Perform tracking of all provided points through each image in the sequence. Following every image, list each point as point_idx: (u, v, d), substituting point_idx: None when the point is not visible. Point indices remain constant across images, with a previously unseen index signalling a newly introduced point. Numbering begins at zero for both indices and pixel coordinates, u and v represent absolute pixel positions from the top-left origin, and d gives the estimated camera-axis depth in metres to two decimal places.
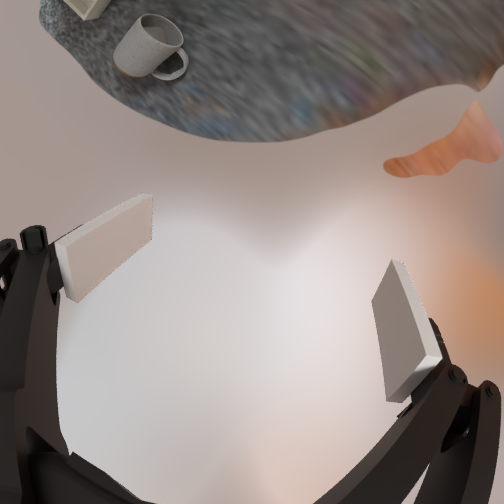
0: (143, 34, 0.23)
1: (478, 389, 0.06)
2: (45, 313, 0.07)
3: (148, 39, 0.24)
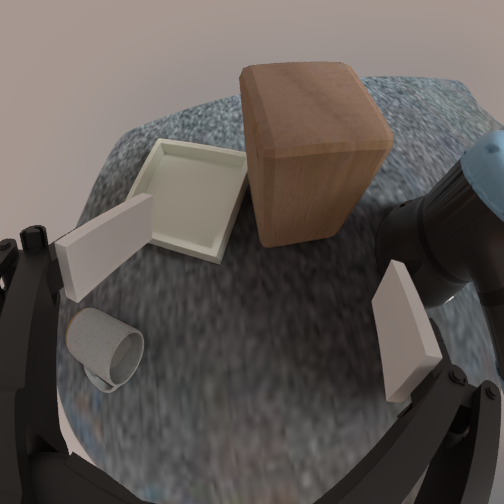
0: (106, 359, 0.24)
1: (478, 389, 0.06)
2: (45, 313, 0.07)
3: (104, 367, 0.24)
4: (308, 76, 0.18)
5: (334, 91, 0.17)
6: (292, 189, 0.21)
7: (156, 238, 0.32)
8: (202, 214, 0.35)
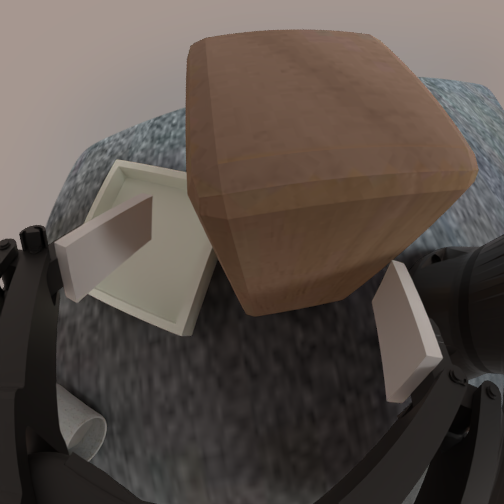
0: None
1: (478, 389, 0.06)
2: (45, 313, 0.07)
3: None
4: (308, 44, 0.09)
5: (361, 69, 0.08)
6: (279, 265, 0.11)
7: (108, 302, 0.23)
8: (168, 267, 0.26)
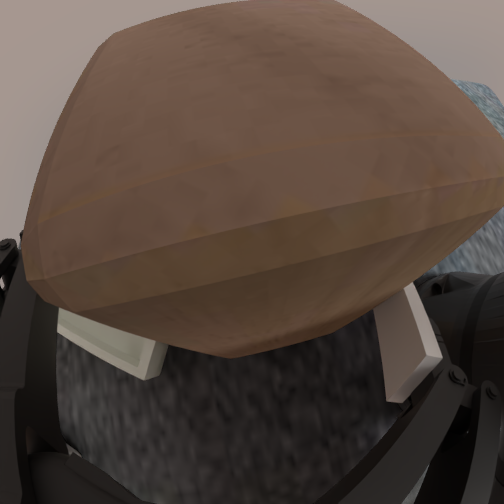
0: None
1: (478, 389, 0.06)
2: (45, 313, 0.07)
3: None
4: (240, 13, 0.05)
5: (317, 30, 0.05)
6: (218, 334, 0.07)
7: (71, 339, 0.19)
8: None
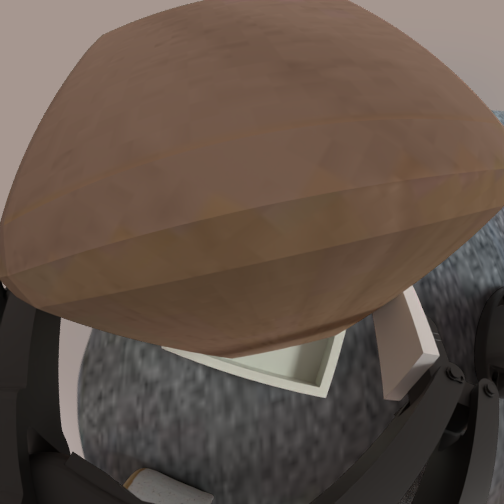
0: None
1: (476, 387, 0.06)
2: (48, 313, 0.07)
3: None
4: (221, 7, 0.05)
5: (293, 18, 0.04)
6: (197, 336, 0.07)
7: (236, 373, 0.21)
8: None
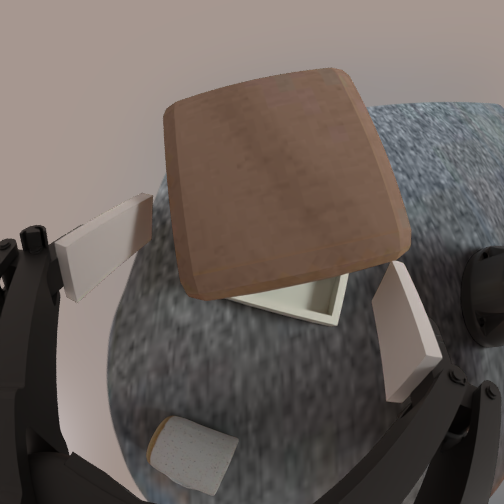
0: (215, 483, 0.18)
1: (478, 389, 0.06)
2: (45, 313, 0.07)
3: (212, 489, 0.18)
4: (266, 114, 0.11)
5: (311, 147, 0.10)
6: (255, 292, 0.15)
7: (262, 305, 0.27)
8: None
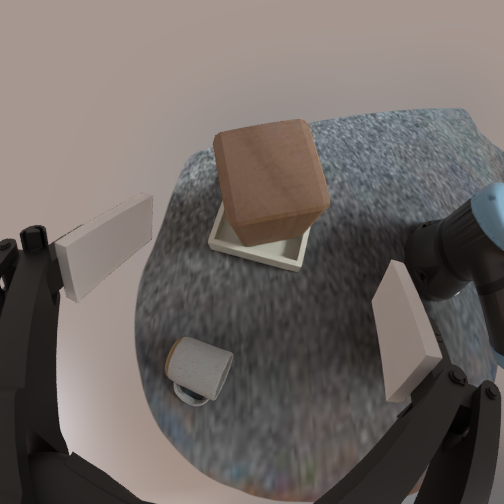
0: (216, 380, 0.32)
1: (478, 389, 0.06)
2: (45, 313, 0.07)
3: (213, 386, 0.32)
4: (266, 144, 0.25)
5: (286, 161, 0.25)
6: (255, 231, 0.30)
7: (250, 253, 0.41)
8: None
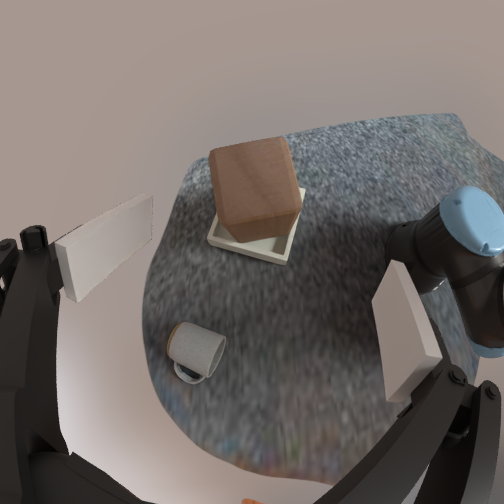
0: (209, 358, 0.39)
1: (478, 389, 0.06)
2: (45, 313, 0.07)
3: (207, 364, 0.39)
4: (251, 159, 0.31)
5: (266, 173, 0.31)
6: (243, 229, 0.36)
7: (243, 248, 0.48)
8: None
